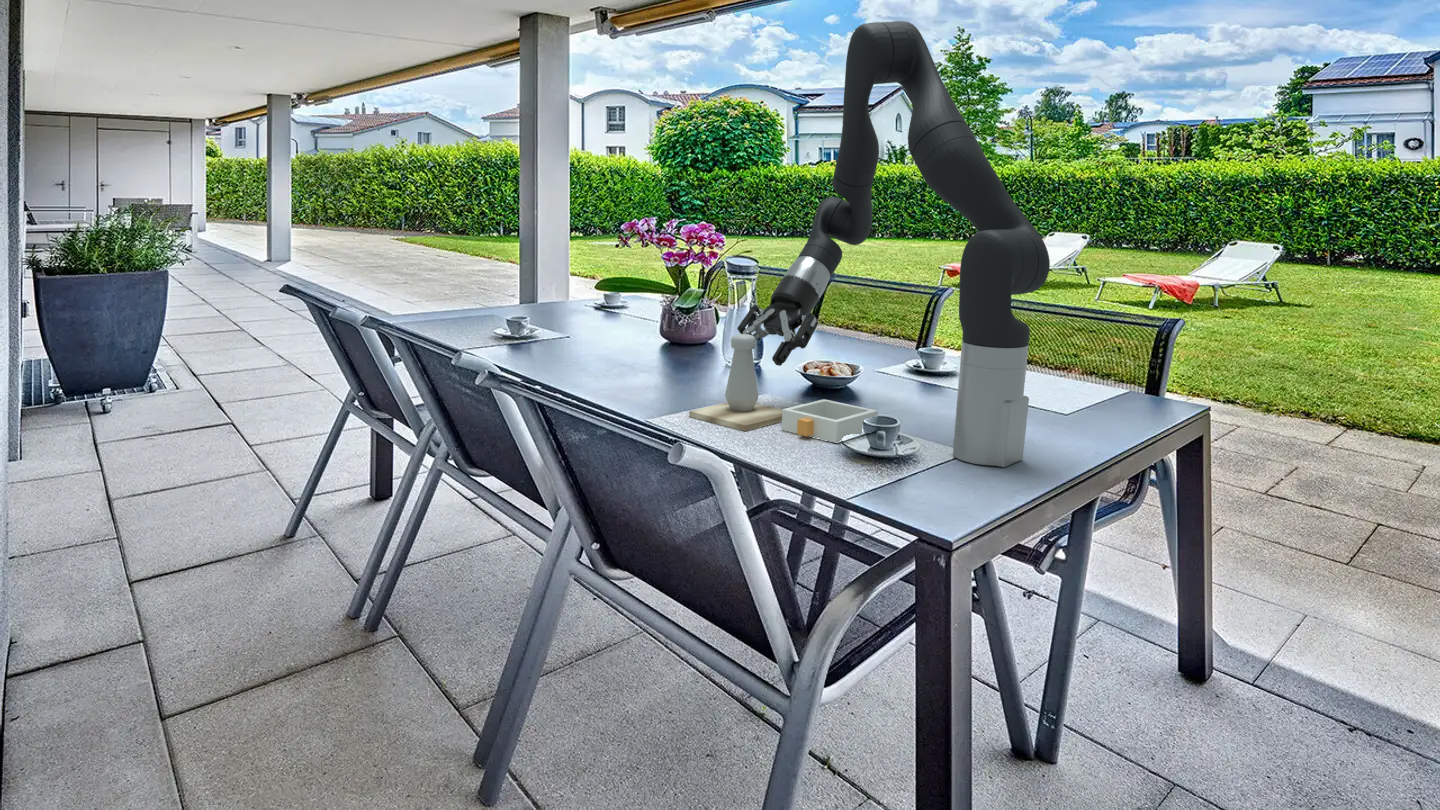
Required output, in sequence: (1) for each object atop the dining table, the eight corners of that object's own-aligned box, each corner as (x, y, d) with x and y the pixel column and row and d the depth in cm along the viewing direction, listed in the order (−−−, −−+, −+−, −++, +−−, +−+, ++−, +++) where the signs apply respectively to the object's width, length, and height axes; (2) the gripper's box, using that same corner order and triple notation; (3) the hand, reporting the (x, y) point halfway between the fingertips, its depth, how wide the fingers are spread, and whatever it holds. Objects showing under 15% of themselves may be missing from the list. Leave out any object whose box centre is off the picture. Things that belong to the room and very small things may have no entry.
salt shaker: (728, 413, 152) (730, 337, 148) (721, 405, 157) (723, 332, 154) (761, 412, 153) (764, 337, 150) (753, 404, 158) (755, 332, 155)
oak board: (796, 418, 153) (796, 412, 153) (745, 431, 144) (745, 425, 144) (740, 404, 162) (740, 399, 162) (689, 416, 153) (689, 411, 153)
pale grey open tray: (876, 431, 146) (877, 410, 145) (829, 445, 137) (830, 423, 136) (822, 419, 153) (823, 399, 152) (775, 431, 144) (775, 410, 143)
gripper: (761, 270, 161) (716, 340, 156) (825, 277, 151) (779, 351, 146) (779, 298, 166) (736, 366, 161) (841, 305, 156) (798, 378, 151)
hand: (757, 359), depth 153 cm, fingers open, 8 cm apart
